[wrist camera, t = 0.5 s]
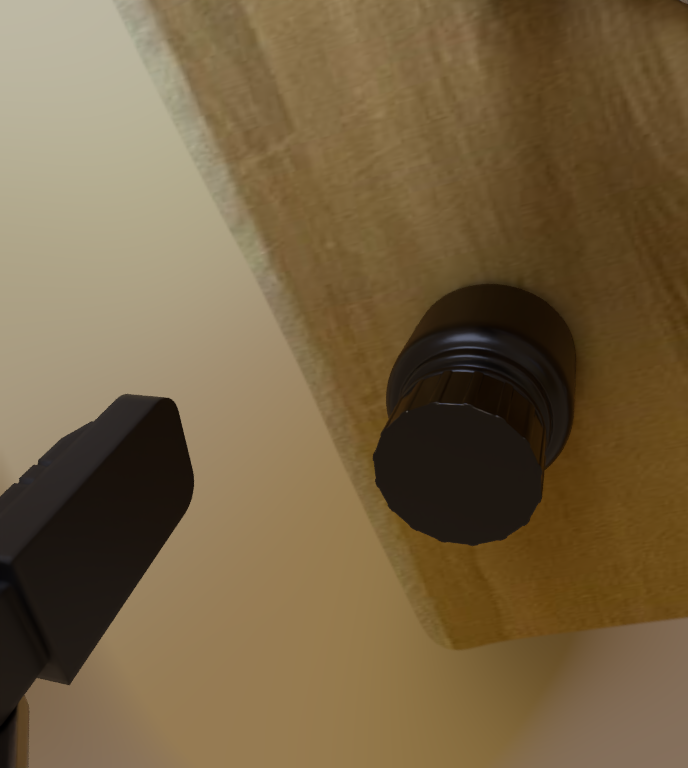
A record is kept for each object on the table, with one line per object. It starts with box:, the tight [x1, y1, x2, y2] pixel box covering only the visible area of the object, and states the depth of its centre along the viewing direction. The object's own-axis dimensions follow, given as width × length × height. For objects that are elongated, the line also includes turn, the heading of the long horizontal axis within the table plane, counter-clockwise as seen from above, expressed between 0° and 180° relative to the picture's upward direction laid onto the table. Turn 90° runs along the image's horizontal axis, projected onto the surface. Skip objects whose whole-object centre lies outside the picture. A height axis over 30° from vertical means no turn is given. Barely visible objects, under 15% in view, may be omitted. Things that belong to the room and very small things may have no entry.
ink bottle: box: [373, 284, 576, 546], centre depth 31 cm, size 10×9×12 cm
